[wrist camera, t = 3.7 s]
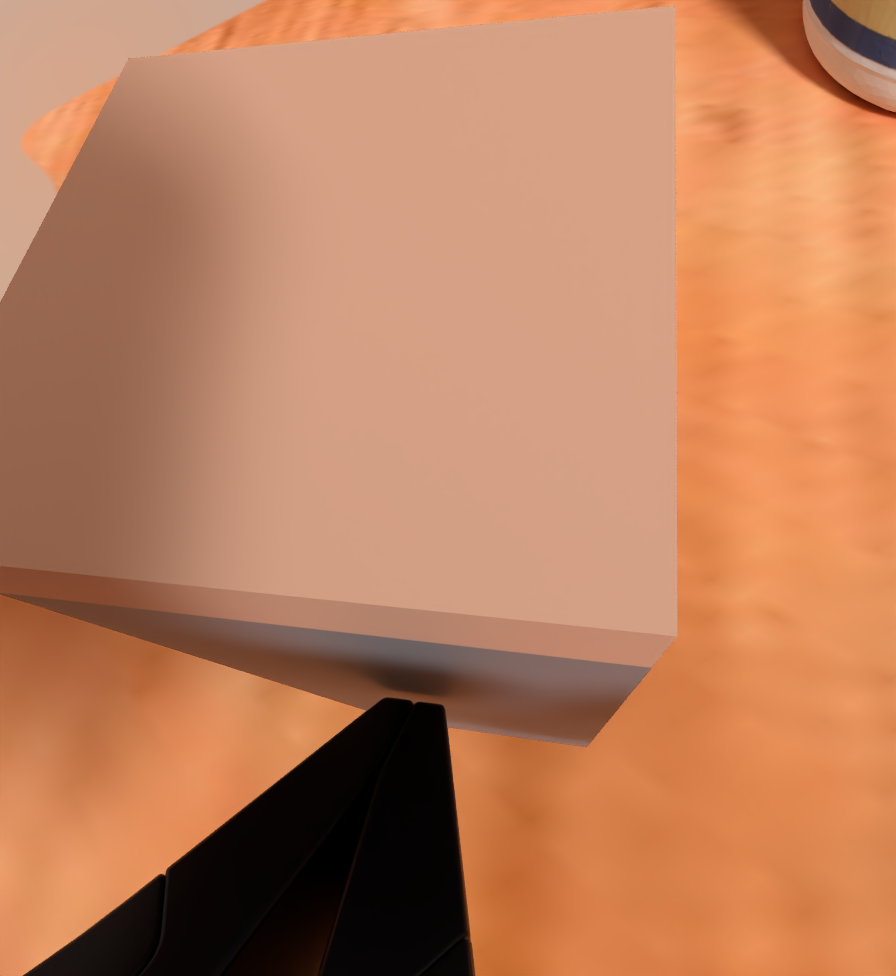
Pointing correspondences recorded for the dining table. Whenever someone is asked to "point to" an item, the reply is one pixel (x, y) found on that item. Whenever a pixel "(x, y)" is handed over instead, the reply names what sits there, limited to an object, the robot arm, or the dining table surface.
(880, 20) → the supplement tub
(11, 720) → the dining table surface
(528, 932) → the dining table surface
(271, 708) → the dining table surface
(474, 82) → the charcoal block
